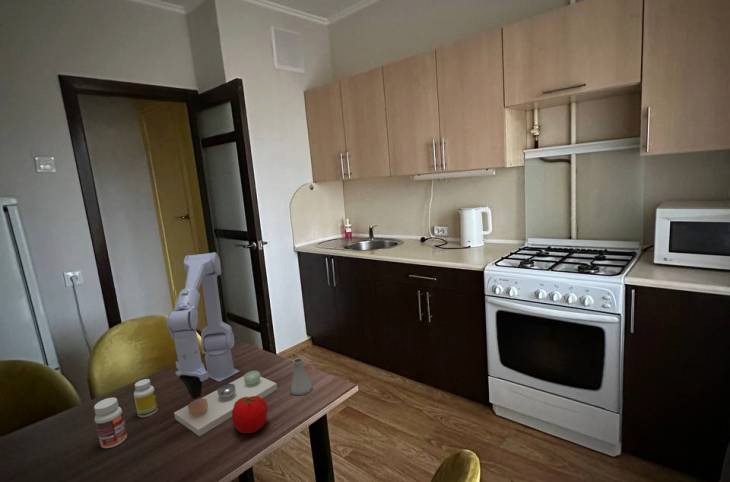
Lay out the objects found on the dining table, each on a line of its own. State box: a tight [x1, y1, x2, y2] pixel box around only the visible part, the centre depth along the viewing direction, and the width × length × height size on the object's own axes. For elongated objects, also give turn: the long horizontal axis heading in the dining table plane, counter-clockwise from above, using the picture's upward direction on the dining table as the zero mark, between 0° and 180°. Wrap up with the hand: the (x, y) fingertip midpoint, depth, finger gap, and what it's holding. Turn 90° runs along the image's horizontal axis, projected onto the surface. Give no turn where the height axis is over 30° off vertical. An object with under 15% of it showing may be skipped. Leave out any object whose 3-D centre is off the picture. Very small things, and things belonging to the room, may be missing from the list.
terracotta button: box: [187, 397, 208, 415], centre depth 108 cm, size 5×5×2 cm
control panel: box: [173, 375, 278, 437], centre depth 115 cm, size 14×26×2 cm, turn 141°
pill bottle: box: [93, 397, 128, 449], centre depth 101 cm, size 6×6×11 cm
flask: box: [290, 357, 313, 396], centre depth 118 cm, size 7×7×10 cm
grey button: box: [216, 383, 236, 398], centre depth 114 cm, size 5×5×2 cm
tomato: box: [231, 396, 269, 434], centre depth 102 cm, size 9×10×8 cm
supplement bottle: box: [133, 378, 159, 418], centre depth 114 cm, size 5×5×10 cm
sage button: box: [243, 370, 261, 384], centre depth 121 cm, size 5×5×2 cm
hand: (196, 396), depth 107 cm, fingers closed
